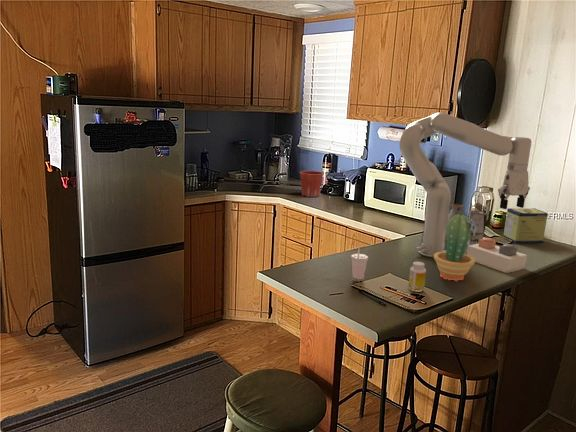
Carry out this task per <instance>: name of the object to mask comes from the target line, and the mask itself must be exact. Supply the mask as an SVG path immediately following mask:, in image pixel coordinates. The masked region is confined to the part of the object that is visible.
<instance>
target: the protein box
mask: <svg viewBox="0 0 576 432" xmlns="http://www.w3.org/2000/svg"><path fill="white" fill-rule="evenodd" d="M548 215H549V214H548V212H545V211H543V210H540V209H537V208H533V207H531V208H525V207H523V208H521V207H512V208H508V207H507V209H506V217H505V224H504V230H503V237H506V238H508V239H510V240H512V241H513V242H512V243H513V244H543V243H544V239H545V233H546V232H545V231H546V227H547V219H548Z"/></svg>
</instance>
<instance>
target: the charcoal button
mask: <svg viewBox="0 0 576 432" xmlns="http://www.w3.org/2000/svg"><path fill="white" fill-rule="evenodd" d="M499 246H500V248H499V253H500V254H504V255H507V256H513V255H516V253H517V252H518V247H516V246H515V245H513V244H512V243H511V244H510V243H503V245H499Z"/></svg>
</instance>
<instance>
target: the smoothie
mask: <svg viewBox="0 0 576 432" xmlns="http://www.w3.org/2000/svg"><path fill="white" fill-rule="evenodd" d="M360 247H361V244H358V246H357V249H358V250H357V253H352V254H351V255H350V259H351V269H352V272H351V273H352V278H353V277H354V278H357V279H362V278H363V279H364V277H365V272H366V268H367V264H368V261H369V256H368V255H367V254H364V253H360V249H361V248H360Z"/></svg>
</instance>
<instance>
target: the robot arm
mask: <svg viewBox="0 0 576 432" xmlns="http://www.w3.org/2000/svg"><path fill="white" fill-rule="evenodd" d="M437 134H440V135H442V136H446V137H448V138H451V139H454V140H456V141H458V142H462V143H464V144H466V145H470V146H473V147H476V148H479V149H482V150H484V151H486V152H489V153H492V154H494V155H497V156H500V157H501V156H503V157H504V156H506V155H509V156H508V161H507V170H506V172H505V175H504V178H503V182H502V186H500V187H499V188H498V189H497V191H498V196H499V199H500V203H499V208H500V209H502V210H507V209H508V204H509V197H510V196H513V197H514V196H518V197H517V199H516V208H525V201H526V199H527V196H528V195H529V192H530V189H531V187H530V186H529V171H528V168H529V160H530V156H531V155H530V153H531V147H532V139H531V138H529V137H524V136H523V137H522V136H521V137H520V136H515V137H513V136H505V135H501V134H498V133H495V132H492V131H490V130H488V129H485V128H484V127H481V126H479V125H477V124H475V123H472V122H471V121H467V120H464V119H462V118H459V117H457V116H454V115H452V114H451V115H450V114H448V113H446V112H443V111H440V112H435V113H433V114H431V115H429V116H427V117H424V118H421V119H418V120H416V121H414V122H410V123H409V124H408V125H406V127H405V129H404V131H403V132H402V134H401V136H400V139H399V151H400V154H401V155H402V158H403V159H404V161H405V163H406V164H407V166H408V168H409V169H410V171H411V172H412V174H413V176H414V177H415V180H416V181H417V182H418V183H419V184H420V185H421V186H422V188H423V190H424V191H425V193H426V194H427V196H426V207H425V216H424V226H423V235H422V243H420V246H416V247H415V248H414V251H415V252H418V253H419V254H420V255H421V256H424V257H429V258H434V254H435V253H437V252H444V251H446V250H445V245H446V239H447V237H446V227H447V220H448V214H449V213H450V207H451V197H452V195H451V190H450V187H449V185H448V184H447V182H446V180H445V179H444V178H443V176H442V174H441V173H440V171H439V169H438V167H436V165H435V164H434V163H433V162H432V161H430V159H429V158H428V156H426V154H425V152H424V150H423V149H422V147H421V142H422V140H423V139H427V138H429V137H431V136H434V135H437Z"/></svg>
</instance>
